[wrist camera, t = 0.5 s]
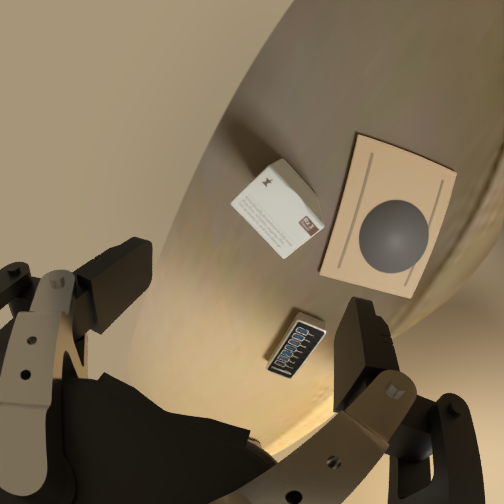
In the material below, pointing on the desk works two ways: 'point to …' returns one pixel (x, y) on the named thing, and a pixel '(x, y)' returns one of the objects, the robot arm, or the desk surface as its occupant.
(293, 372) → the multiport hub
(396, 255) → the beige flat board
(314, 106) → the desk surface
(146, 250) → the robot arm
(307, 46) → the desk surface
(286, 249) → the skincare box
